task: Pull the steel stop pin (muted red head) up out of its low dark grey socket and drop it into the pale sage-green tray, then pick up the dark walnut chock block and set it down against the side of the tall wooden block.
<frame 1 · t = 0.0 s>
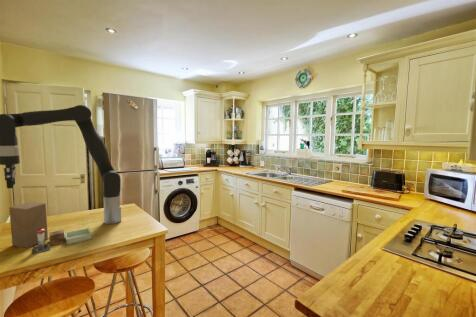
hand: (11, 186, 114), 29 cm above the table, fingers open, 8 cm apart
wooden block: (30, 242, 117), on the table
chock: (57, 241, 118), on the table
tray: (78, 238, 122), on the table
pin socket: (41, 249, 110), on the table
pin: (41, 249, 110), resting in pin socket
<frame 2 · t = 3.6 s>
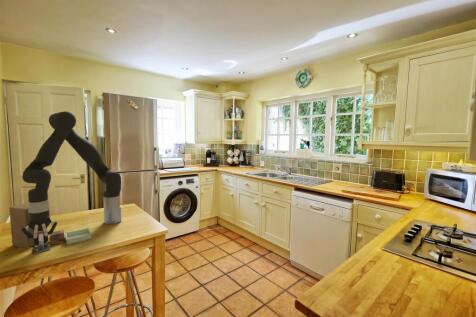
hand: (41, 243, 110), 3 cm above the table, fingers closed on pin, 2 cm apart
pin: (41, 249, 110), resting in pin socket, touching gripper
everything else where it was.
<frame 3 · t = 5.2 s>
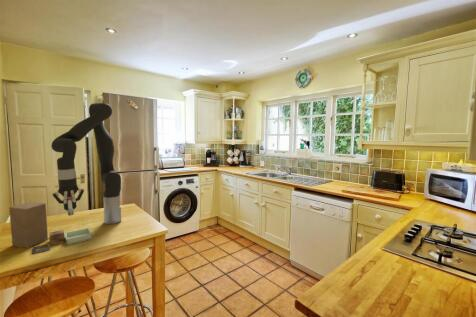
hand: (70, 209, 118), 17 cm above the table, fingers closed on pin, 2 cm apart
pin: (70, 214, 119), point 14 cm above the table, touching gripper
everything else where it was.
when the fingers open (5 cm above the table, at t = 7.2 s): pin drops 1 cm, resting on tray.
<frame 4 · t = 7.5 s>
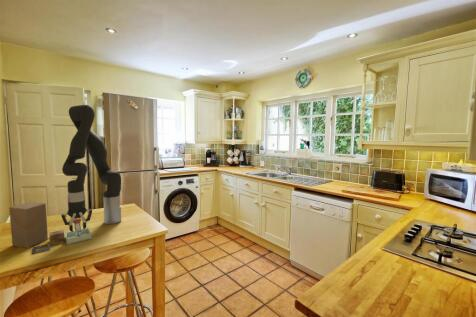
hand: (78, 229, 122), 5 cm above the table, fingers open, 4 cm apart
pin: (78, 237, 122), point 1 cm above the table, touching tray
everything else where it was.
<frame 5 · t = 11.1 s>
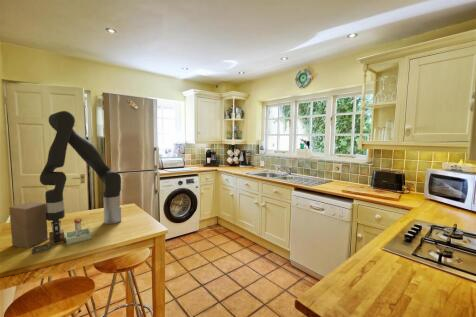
hand: (56, 240, 118), 0 cm above the table, fingers closed on chock, 4 cm apart
chock: (57, 241, 118), on the table, touching gripper
everything else where it was.
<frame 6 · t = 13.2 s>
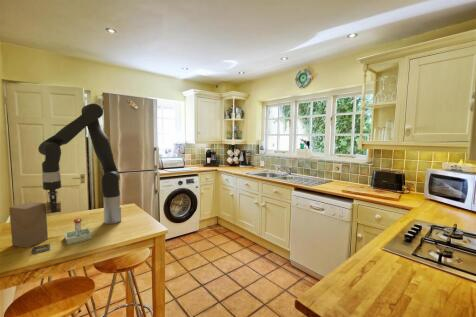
hand: (53, 210, 121), 15 cm above the table, fingers closed on chock, 4 cm apart
chock: (53, 211, 121), point 14 cm above the table, touching gripper
everything else where it was.
when the fingers open (3 cm above the table, at t = 15.6 s): chock drops 3 cm, on the table.
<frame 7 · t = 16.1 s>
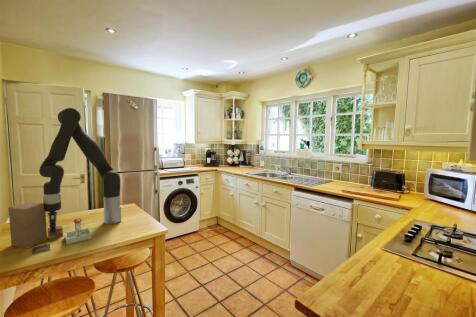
hand: (52, 230, 122), 4 cm above the table, fingers open, 8 cm apart
wooden block: (30, 243, 117), on the table, touching arm
chock: (55, 236, 124), on the table
everything else where it was.
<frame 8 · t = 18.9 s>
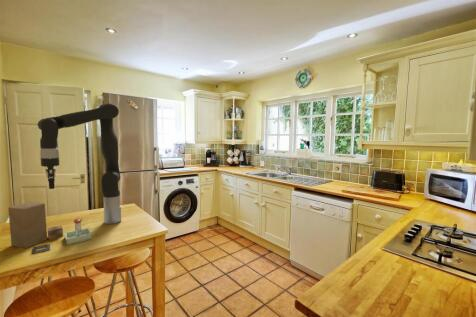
hand: (51, 187, 120), 28 cm above the table, fingers open, 8 cm apart
wooden block: (30, 242, 117), on the table
everything else where it was.
at the end: chock inside the target area on the table beside the wooden block (0.7 cm from its centre), on the table; chock on the table; pin inside the target area on the tray (0.1 cm from its centre), point 0.6 cm above the tray's base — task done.
